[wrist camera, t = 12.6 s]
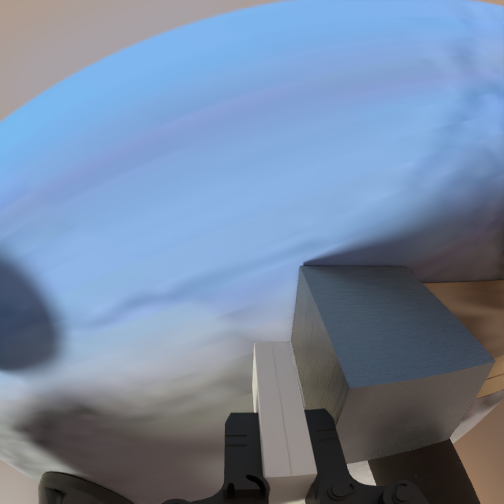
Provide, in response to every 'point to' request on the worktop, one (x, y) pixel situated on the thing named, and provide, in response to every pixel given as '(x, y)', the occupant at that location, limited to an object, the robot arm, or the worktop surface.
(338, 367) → the grey angled block
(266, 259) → the worktop surface
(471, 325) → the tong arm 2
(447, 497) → the container
